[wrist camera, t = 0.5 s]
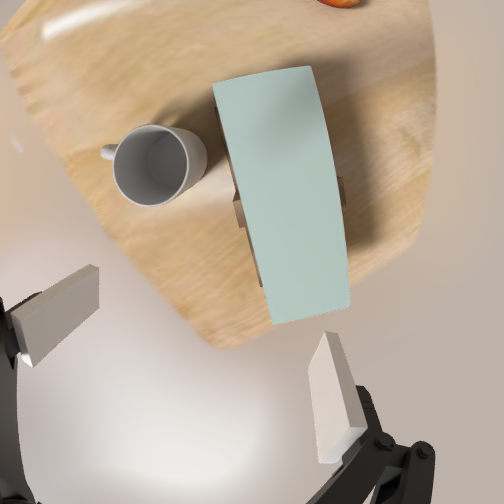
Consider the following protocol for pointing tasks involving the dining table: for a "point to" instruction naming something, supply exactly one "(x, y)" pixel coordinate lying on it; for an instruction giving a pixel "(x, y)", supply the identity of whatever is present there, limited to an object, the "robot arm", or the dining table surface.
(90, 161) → the dining table surface
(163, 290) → the dining table surface
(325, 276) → the plank
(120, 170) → the mug
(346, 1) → the fruit
